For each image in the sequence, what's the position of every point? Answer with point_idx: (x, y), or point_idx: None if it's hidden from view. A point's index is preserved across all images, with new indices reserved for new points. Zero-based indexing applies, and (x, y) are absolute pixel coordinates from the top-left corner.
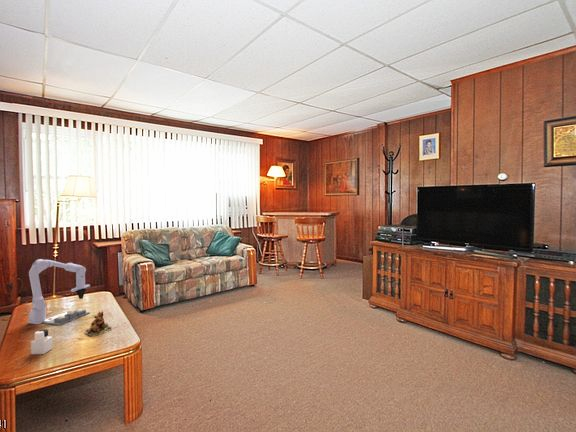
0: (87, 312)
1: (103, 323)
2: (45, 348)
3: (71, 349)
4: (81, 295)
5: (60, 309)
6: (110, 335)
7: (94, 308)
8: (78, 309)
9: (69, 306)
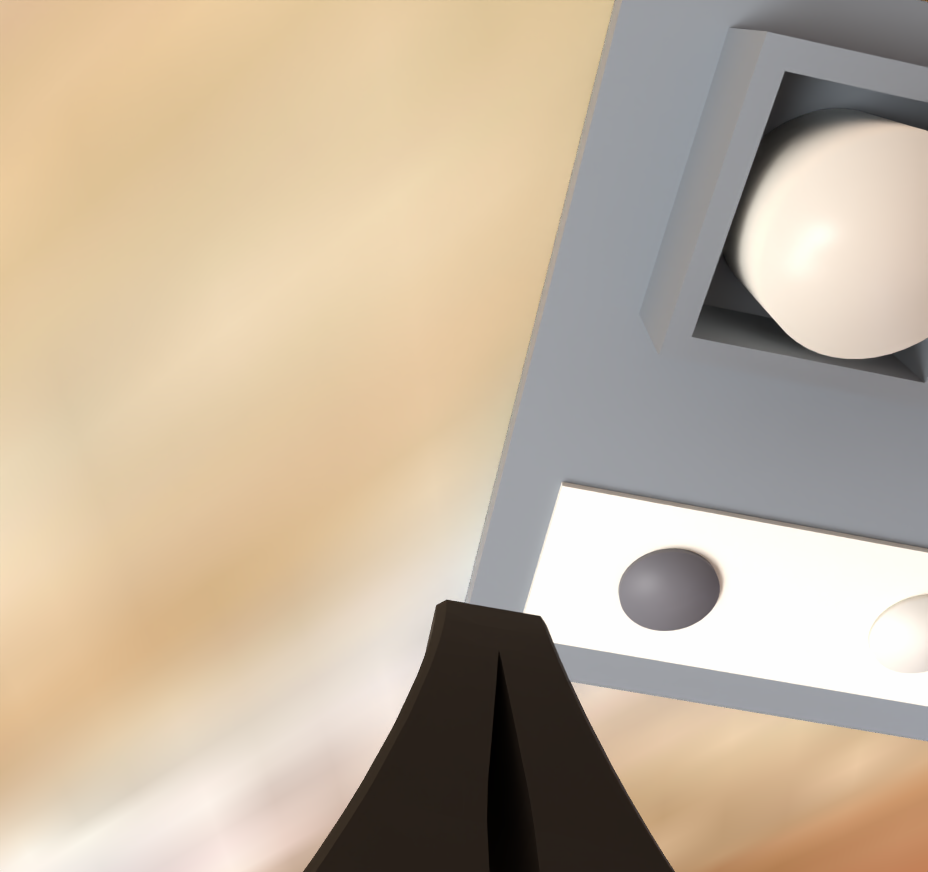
0: (668, 7)
1: None
2: None
3: None
4: (610, 786)
5: None
6: None
7: (107, 155)
8: (831, 313)
9: (166, 834)
